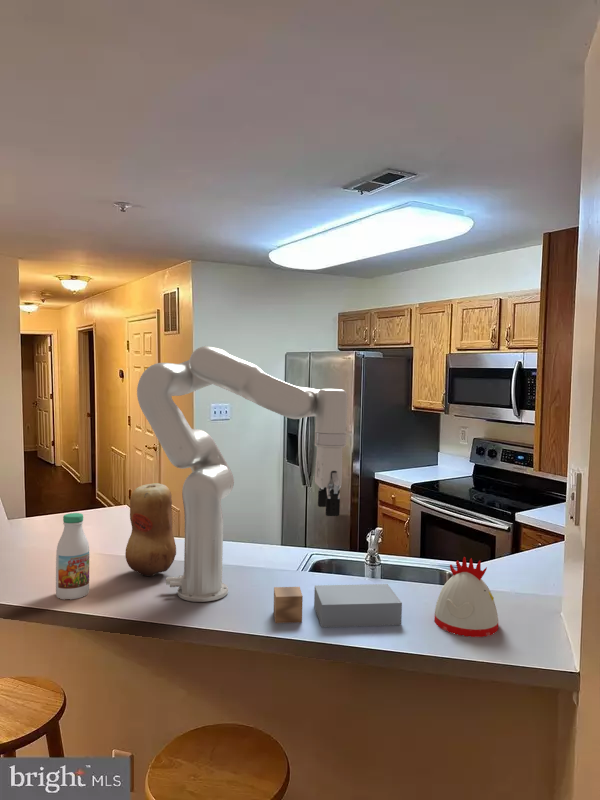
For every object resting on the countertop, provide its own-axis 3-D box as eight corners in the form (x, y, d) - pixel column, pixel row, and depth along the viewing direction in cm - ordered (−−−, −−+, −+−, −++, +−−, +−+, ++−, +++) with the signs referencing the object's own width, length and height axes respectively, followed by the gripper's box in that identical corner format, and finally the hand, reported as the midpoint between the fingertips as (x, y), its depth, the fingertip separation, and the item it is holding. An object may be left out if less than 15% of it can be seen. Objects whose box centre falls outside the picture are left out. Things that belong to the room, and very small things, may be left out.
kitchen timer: (489, 643, 119) (491, 572, 118) (425, 627, 126) (427, 560, 126) (504, 620, 131) (506, 555, 130) (445, 607, 138) (447, 545, 138)
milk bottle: (48, 597, 139) (49, 516, 138) (72, 587, 146) (72, 509, 145) (73, 602, 136) (73, 519, 135) (95, 591, 143) (96, 513, 142)
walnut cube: (275, 623, 126) (275, 596, 126) (273, 612, 132) (274, 587, 132) (302, 622, 127) (302, 596, 127) (299, 612, 133) (299, 586, 133)
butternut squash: (114, 579, 152) (115, 486, 151) (141, 564, 165) (142, 479, 164) (161, 585, 148) (162, 490, 148) (185, 569, 161) (186, 482, 161)
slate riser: (321, 627, 125) (322, 604, 125) (314, 606, 137) (314, 585, 136) (401, 625, 127) (401, 602, 127) (387, 604, 139) (387, 584, 138)
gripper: (309, 436, 144) (307, 503, 145) (321, 444, 127) (319, 519, 128) (338, 437, 145) (335, 503, 146) (354, 444, 128) (352, 519, 129)
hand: (328, 510), depth 137 cm, fingers open, 9 cm apart
